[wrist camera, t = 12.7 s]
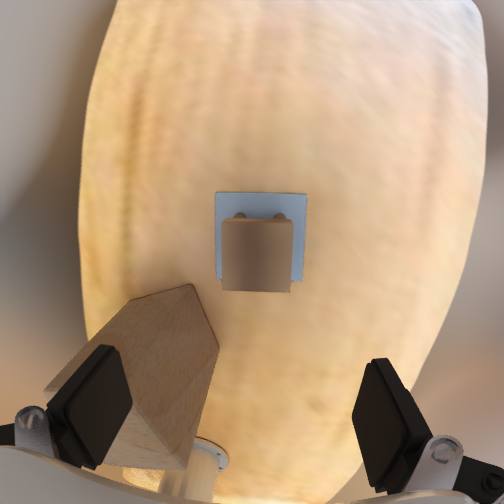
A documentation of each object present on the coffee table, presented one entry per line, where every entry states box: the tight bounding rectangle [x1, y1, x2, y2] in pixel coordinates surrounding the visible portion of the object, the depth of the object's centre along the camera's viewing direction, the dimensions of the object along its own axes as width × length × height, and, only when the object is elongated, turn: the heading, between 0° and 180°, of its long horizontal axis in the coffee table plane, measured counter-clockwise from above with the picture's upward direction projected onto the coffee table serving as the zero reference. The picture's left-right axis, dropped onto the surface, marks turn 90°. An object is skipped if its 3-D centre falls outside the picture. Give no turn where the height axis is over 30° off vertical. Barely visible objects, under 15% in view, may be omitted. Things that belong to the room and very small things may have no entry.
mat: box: [215, 192, 307, 282], centre depth 33 cm, size 10×10×1 cm
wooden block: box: [44, 285, 219, 471], centre depth 27 cm, size 10×10×20 cm
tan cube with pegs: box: [221, 212, 294, 292], centre depth 29 cm, size 6×6×8 cm
